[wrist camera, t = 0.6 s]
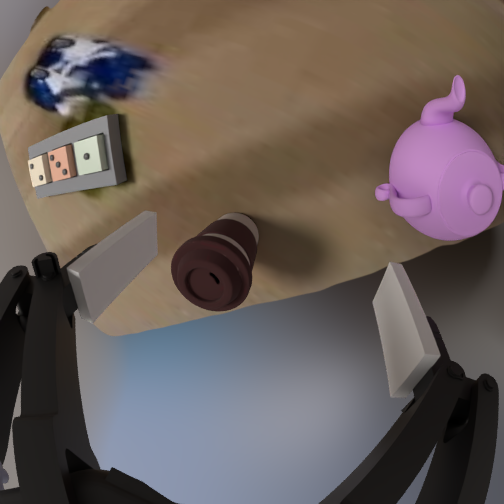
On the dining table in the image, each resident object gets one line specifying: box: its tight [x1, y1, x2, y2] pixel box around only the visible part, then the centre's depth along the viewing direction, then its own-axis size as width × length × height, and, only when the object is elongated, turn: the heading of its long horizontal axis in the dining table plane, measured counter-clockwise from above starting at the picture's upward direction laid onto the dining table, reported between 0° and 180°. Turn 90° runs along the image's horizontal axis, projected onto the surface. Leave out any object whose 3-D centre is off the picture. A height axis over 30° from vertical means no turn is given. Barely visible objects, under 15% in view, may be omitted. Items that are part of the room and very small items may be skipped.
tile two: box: [28, 153, 52, 187], centre depth 42 cm, size 6×6×3 cm
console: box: [28, 114, 127, 199], centre depth 42 cm, size 12×26×3 cm, turn 94°
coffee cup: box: [171, 213, 259, 311], centre depth 37 cm, size 10×10×15 cm
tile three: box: [48, 144, 77, 182], centre depth 40 cm, size 6×6×3 cm
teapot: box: [375, 75, 504, 241], centre depth 26 cm, size 22×22×14 cm
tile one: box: [74, 134, 108, 175], centre depth 39 cm, size 6×6×3 cm
